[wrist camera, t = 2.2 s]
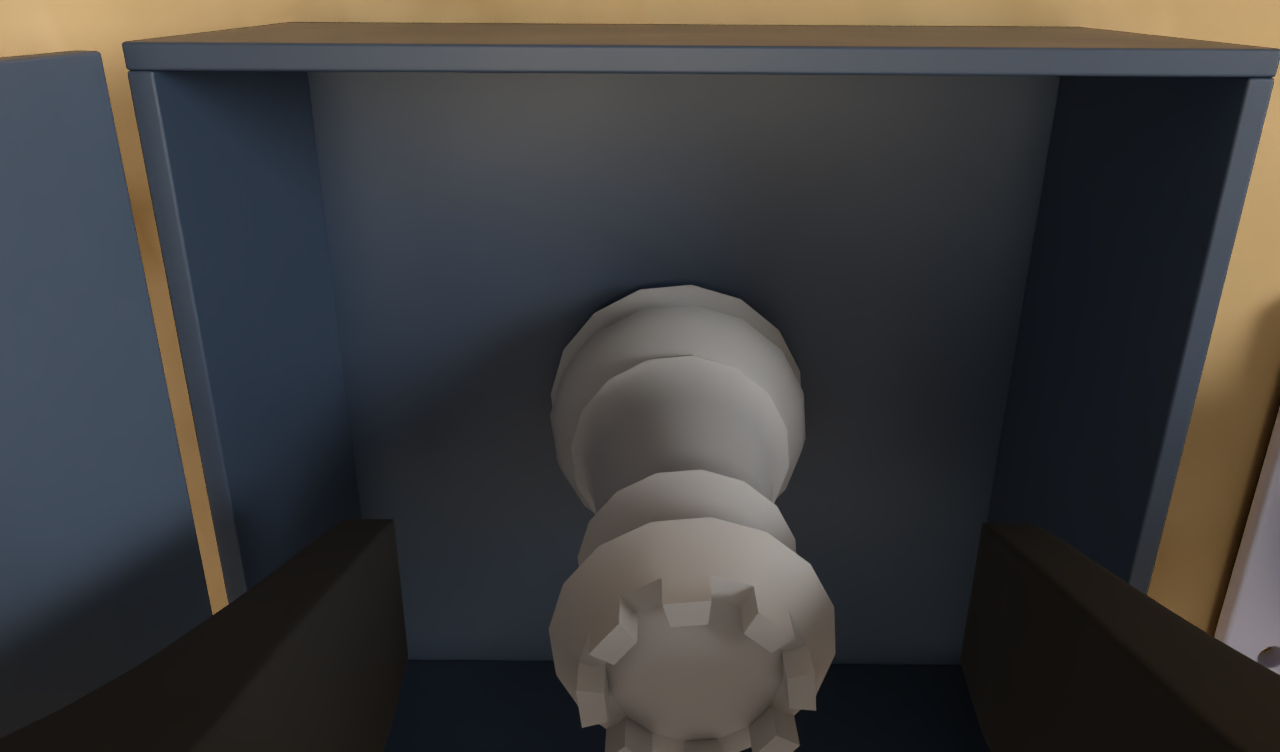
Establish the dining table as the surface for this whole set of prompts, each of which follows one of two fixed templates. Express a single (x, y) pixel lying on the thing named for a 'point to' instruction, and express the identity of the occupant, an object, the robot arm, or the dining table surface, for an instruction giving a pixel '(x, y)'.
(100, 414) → the flap
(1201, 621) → the dining table surface
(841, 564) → the carton
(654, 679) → the rook chess piece
